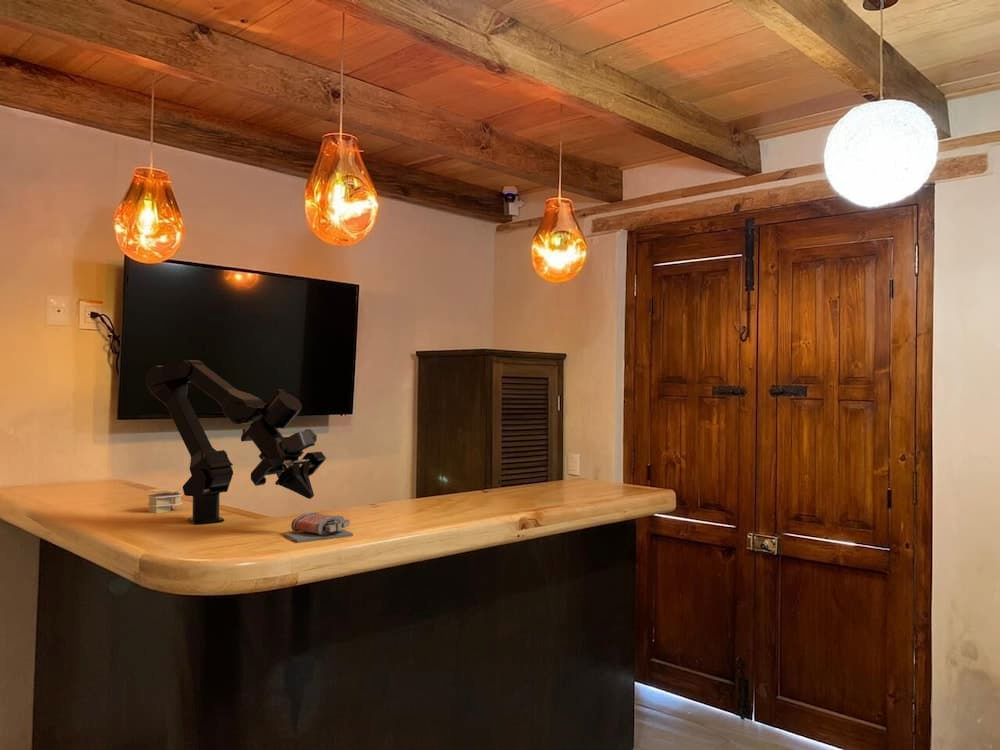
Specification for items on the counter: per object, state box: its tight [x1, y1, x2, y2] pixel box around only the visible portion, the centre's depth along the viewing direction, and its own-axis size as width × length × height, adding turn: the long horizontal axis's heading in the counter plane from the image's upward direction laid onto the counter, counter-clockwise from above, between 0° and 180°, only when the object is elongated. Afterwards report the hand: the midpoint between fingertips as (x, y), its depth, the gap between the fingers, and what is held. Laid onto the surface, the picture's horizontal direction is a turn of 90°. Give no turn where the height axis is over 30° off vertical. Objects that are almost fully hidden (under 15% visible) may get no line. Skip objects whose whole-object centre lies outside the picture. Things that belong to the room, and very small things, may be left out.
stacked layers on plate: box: [146, 487, 184, 514], centre depth 183 cm, size 10×9×6 cm
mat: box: [284, 528, 354, 543], centre depth 156 cm, size 7×12×1 cm, turn 126°
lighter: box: [290, 511, 351, 535], centre depth 157 cm, size 8×3×10 cm
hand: (311, 497), depth 159 cm, fingers closed
